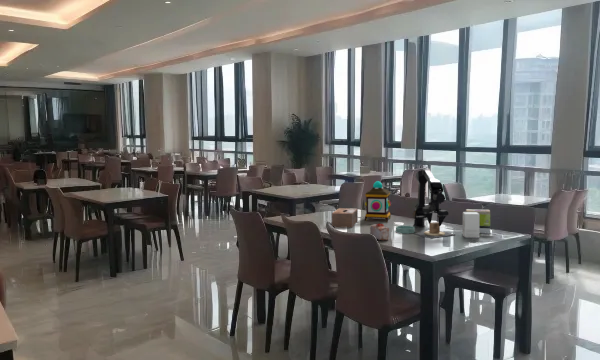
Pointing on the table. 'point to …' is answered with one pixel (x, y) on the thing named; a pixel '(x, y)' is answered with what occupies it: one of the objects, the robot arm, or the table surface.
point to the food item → (379, 231)
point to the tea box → (482, 220)
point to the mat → (434, 236)
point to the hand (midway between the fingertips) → (434, 224)
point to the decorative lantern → (377, 202)
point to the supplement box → (470, 224)
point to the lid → (434, 230)
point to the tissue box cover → (344, 217)
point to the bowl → (405, 229)
